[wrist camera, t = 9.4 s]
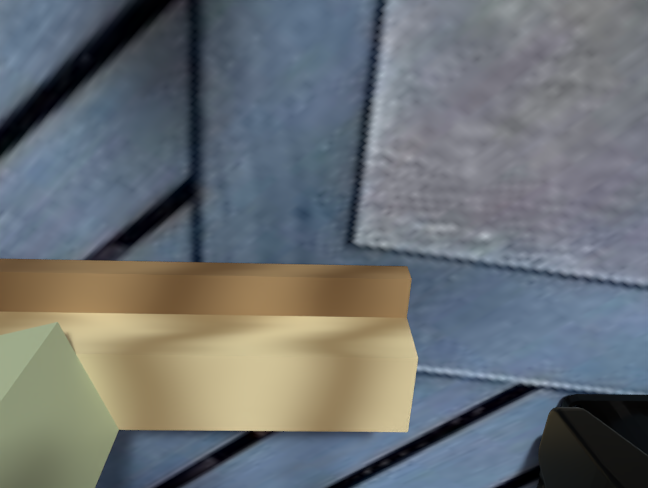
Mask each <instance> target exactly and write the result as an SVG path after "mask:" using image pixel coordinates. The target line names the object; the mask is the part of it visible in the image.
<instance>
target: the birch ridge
mask: <svg viewBox="0 0 648 488" xmlns="http://www.w3.org/2000/svg"><path fill="white" fill-rule="evenodd" d="M410 287H411V276H410V273H409V270H408V267H407V266H357V265H304V264H251V263H199V262H146V261H93V260H41V259H0V335H3V334H8V333H12V332H16V331H21V330H25V329H29V328H34V327H38V326H42V325H46V324H51V323H55V322H58V323H59V325H60V327H61V329H62V330H63V332H64V334H65V336H66V337H67V339H68V341H69V343H70V344H71V346H72V348H73V350H74V351H75V353H76V355H77V357H78V358H79V360H80V362H81V364H82V365H83V367H84V369H85V371H86V372H87V374H88V376H89V378H90V379H91V381H92V383H93V385H94V386H95V388H96V390H97V392H98V394H99V395H100V397H101V399H102V401H103V402H104V404H105V406H106V408H107V409H108V411H109V413H110V415H111V416H112V418H113V420H114V422H115V423H116V425H117V427H118V429H119V430H205V431H342V432H408V427H409V420H410V413H411V406H412V398H413V391H414V384H415V377H416V370H417V363H418V356H417V352H416V349H415V345H414V342H413V338H412V335H411V331H410V328H409V324H408V321H407V311H408V303H409V295H410Z"/></svg>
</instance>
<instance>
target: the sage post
mask: <svg viewBox="0 0 648 488" xmlns="http://www.w3.org/2000/svg"><path fill="white" fill-rule="evenodd" d="M118 431H119V429H118V427H117V425H116V423H115V422H114V420H113V418H112V416H111V415H110V413H109V411H108V409H107V408H106V406H105V404H104V402H103V401H102V399H101V397H100V395H99V394H98V392H97V390H96V388H95V386H94V385H93V383H92V381H91V379H90V378H89V376H88V374H87V372H86V371H85V369H84V367H83V365H82V364H81V362H80V360H79V358H78V357H77V355H76V353H75V351H74V350H73V348H72V346H71V344H70V343H69V341H68V339H67V337H66V336H65V334H64V332H63V330H62V329H61V327H60V325H59V323H58V322H55V323H51V324H46V325H42V326H38V327H34V328H29V329H25V330H21V331H16V332H12V333H8V334H3V335H0V488H95V486H96V484H97V482H98V479H99V477H100V474H101V472H102V470H103V467H104V465H105V462H106V460H107V457H108V455H109V453H110V450H111V448H112V445H113V443H114V441H115V438H116V436H117V433H118Z"/></svg>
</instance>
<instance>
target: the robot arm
mask: <svg viewBox="0 0 648 488" xmlns="http://www.w3.org/2000/svg"><path fill="white" fill-rule="evenodd" d="M575 405H577V406H575ZM574 406H575V407H574ZM538 457H539V465H540V469H541V470H540V473H539V476H540V479H539V483H538V486H537V488H648V395H609V394H574V395H570V396H568V397H567V398H566V399H564V401H563V403H562V407H556V408H553V409H552V410H551V411H550V413H549V415H548V418H547V422H546V425H545V429H544V432H543V436H542V439H541V442H540V446H539V453H538Z"/></svg>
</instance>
